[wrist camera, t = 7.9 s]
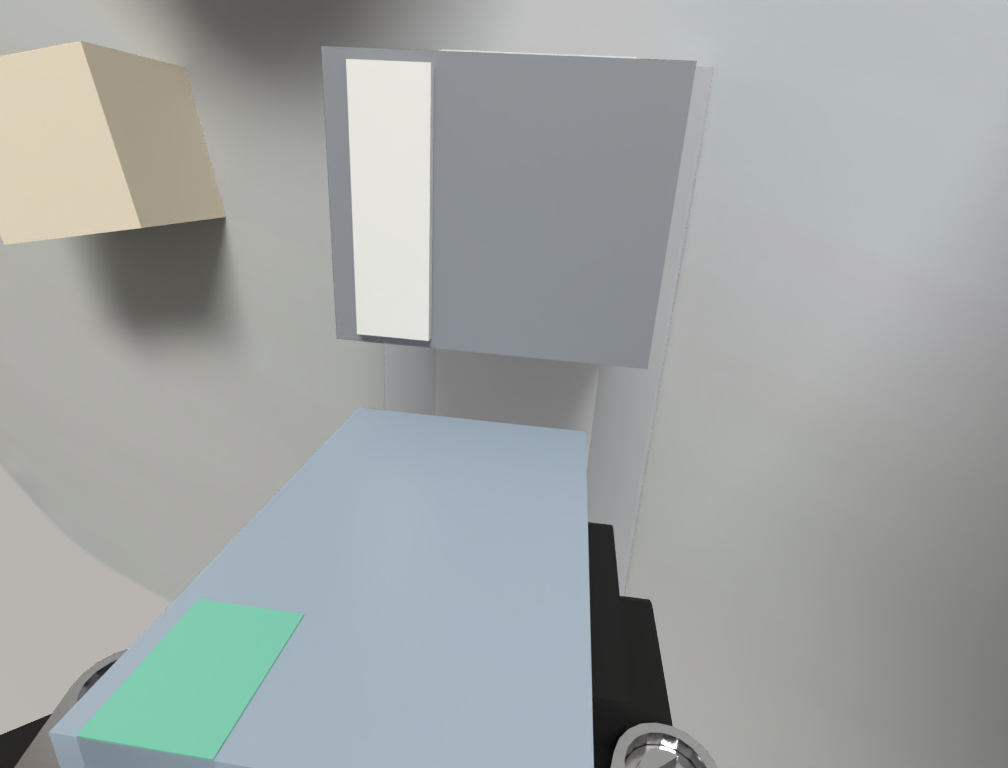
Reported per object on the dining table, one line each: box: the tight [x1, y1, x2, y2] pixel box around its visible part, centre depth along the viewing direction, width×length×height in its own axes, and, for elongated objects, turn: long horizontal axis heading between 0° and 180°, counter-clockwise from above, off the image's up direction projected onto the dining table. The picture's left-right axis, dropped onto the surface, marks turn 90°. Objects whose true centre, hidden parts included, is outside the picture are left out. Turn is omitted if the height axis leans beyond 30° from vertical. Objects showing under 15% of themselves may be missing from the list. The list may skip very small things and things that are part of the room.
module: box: [49, 408, 594, 768], centre depth 9 cm, size 6×4×7 cm
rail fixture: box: [321, 46, 714, 596], centre depth 16 cm, size 20×9×8 cm, turn 177°
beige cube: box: [0, 41, 226, 245], centre depth 17 cm, size 4×4×4 cm
